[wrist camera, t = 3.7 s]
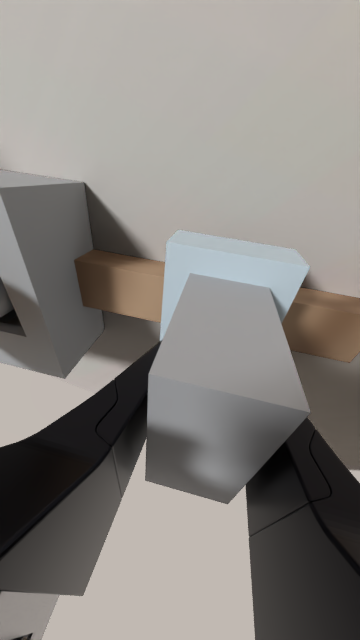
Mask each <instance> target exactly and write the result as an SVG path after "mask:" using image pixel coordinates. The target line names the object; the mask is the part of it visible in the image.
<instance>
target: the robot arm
mask: <svg viewBox="0 0 360 640" xmlns="http://www.w3.org/2000/svg"><path fill="white" fill-rule="evenodd" d="M162 340H163V339H162ZM162 340H161V341H160V342H159V343H158V344H156V345H155V346H154V347H153V348H151V349H150V350H149V351H148V352H147V353H145V354H144V355H143V356H142V357H140V358H139V359H138V360H137V361H136V362H134V363H133V364H132V365H131V366H129V367H128V368H127V369H126V370H125V371H123V372H122V373H121V374H120V375H118V376H117V377H116V378H115V379H114V380H112V381H111V382H110V383H109V384H107V385H106V386H105V387H104V388H102V389H101V390H100V391H98V392H97V393H96V394H95V395H93V396H92V397H90V398H89V399H87V400H86V401H85V402H83V403H82V404H80V405H79V406H77V407H76V408H74V409H73V410H71V411H70V412H68V413H67V414H65V415H64V416H62V417H61V418H59V419H58V420H56V421H55V422H53V423H52V424H51V425H49V426H47V427H46V428H44V429H42V430H41V431H40V432H38V433H36V434H34V435H32V436H30V437H28V438H26V439H24V440H21V441H19V442H16V443H13V444H10V445H6V446H4V447H0V640H41V639H42V637H43V634H44V632H45V629H46V627H47V624H48V622H49V619H50V617H51V614H52V612H53V610H54V607H55V605H56V602H57V599H58V597H59V595H75V596H83V595H84V592H85V589H86V587H87V584H88V582H89V580H90V577H91V575H92V572H93V570H94V567H95V565H96V562H97V560H98V557H99V555H100V552H101V550H102V547H103V545H104V542H105V540H106V537H107V535H108V532H109V530H110V527H111V525H112V522H113V520H114V517H115V515H116V512H117V510H118V507H119V505H120V502H121V498H122V497H123V495H124V492H125V490H126V487H127V485H128V482H129V479H130V477H131V475H132V472H133V470H134V467H135V465H136V462H137V460H138V457H139V455H140V452H141V450H142V447H143V445H144V442H145V440H146V437H147V409H148V377H149V372H150V369H151V367H152V364H153V362H154V360H155V357H156V355H157V352H158V350H159V347H160V345H161V342H162ZM246 497H247V498H246V499H247V514H248V530H249V548H250V564H251V579H252V594H253V611H254V627H255V640H360V483H359V482H358V481H357V480H356V478H355V477H354V476H353V475H352V474H351V473H350V471H349V470H348V469H347V468H346V467H345V465H344V464H343V463H342V462H341V461H340V459H339V458H338V457H337V456H336V454H335V453H334V452H333V450H332V449H331V448H330V447H329V445H328V444H327V443H326V441H325V440H324V439H323V438H322V436H321V435H320V434H319V432H318V431H317V430H315V427H314V426H313V424H312V423H311V422H310V420H309V419H308V418H307V417H306V419H305V420H304V421H303V422H302V423H301V424H300V425H299V426H298V427H297V428H296V430H295V431H294V432H293V433H292V434H291V435H290V436H289V437H288V438H287V440H286V441H285V442H284V443H283V444H282V445H281V446H280V447H279V448H278V449H277V451H276V452H275V453H274V454H273V455H272V456H271V457H270V458H269V459H268V460H267V462H266V463H265V464H264V465H263V466H262V467H261V468H260V469H259V470H258V471H257V473H256V474H255V475H254V476H253V477H252V478H251V479H250V480H249V481H248V482H247V484H246Z"/></svg>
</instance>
